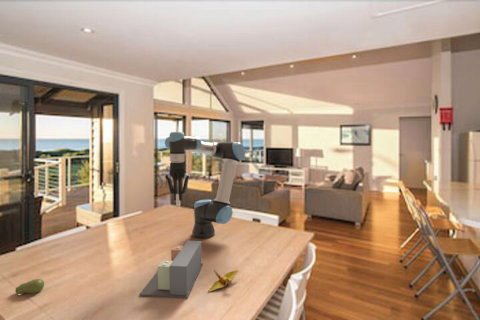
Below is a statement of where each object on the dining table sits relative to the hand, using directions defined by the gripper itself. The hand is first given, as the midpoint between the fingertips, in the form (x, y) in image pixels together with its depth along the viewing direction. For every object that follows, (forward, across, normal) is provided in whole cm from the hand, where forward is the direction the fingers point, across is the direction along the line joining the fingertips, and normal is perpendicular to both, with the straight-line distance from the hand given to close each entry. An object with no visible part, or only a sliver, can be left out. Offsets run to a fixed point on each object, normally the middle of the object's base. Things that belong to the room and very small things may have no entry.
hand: (178, 206), depth 136 cm
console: (+28, +4, -20) cm, 35 cm away
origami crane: (+29, +27, -23) cm, 46 cm away
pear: (+29, -52, -35) cm, 69 cm away
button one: (+27, +3, -12) cm, 30 cm away
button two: (+27, +3, -28) cm, 39 cm away
